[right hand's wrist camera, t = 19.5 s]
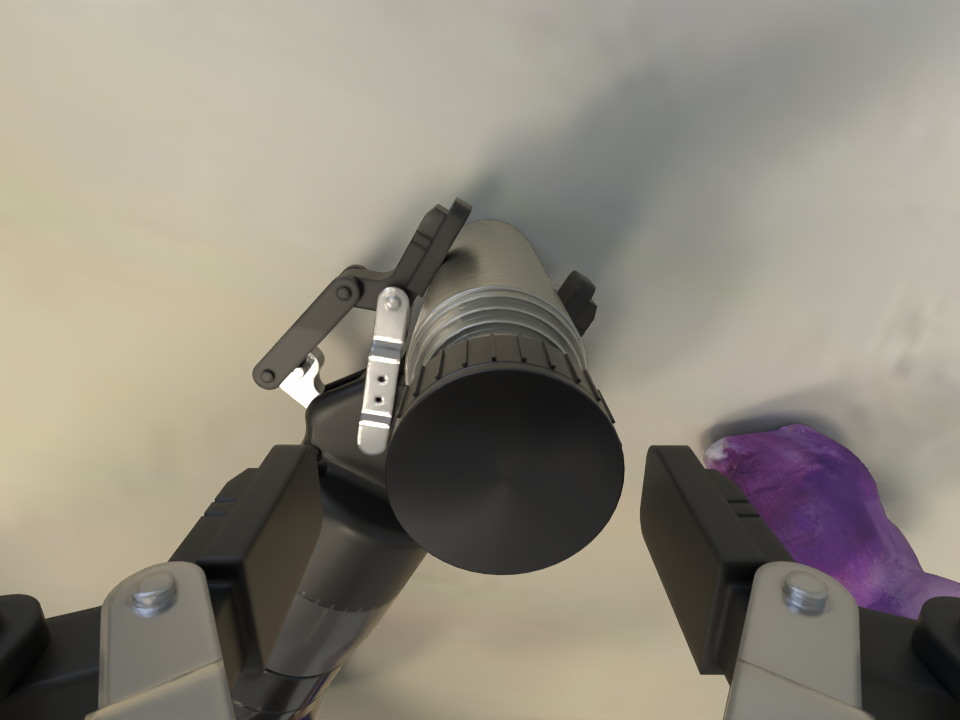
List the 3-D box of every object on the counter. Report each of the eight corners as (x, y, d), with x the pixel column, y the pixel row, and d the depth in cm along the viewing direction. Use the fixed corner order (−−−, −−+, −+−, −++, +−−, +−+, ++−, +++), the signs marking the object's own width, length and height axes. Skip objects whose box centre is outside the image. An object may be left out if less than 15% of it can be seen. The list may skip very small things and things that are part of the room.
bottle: (514, 329, 29) (569, 591, 12) (425, 297, 29) (346, 526, 11) (551, 240, 28) (675, 394, 10) (457, 204, 27) (422, 305, 10)
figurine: (868, 534, 34) (1145, 811, 20) (697, 561, 34) (847, 847, 20) (877, 394, 30) (1218, 608, 16) (687, 427, 31) (860, 659, 17)
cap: (392, 328, 11) (376, 362, 9) (617, 334, 11) (643, 369, 9) (397, 515, 13) (384, 575, 11) (594, 520, 13) (613, 580, 11)
